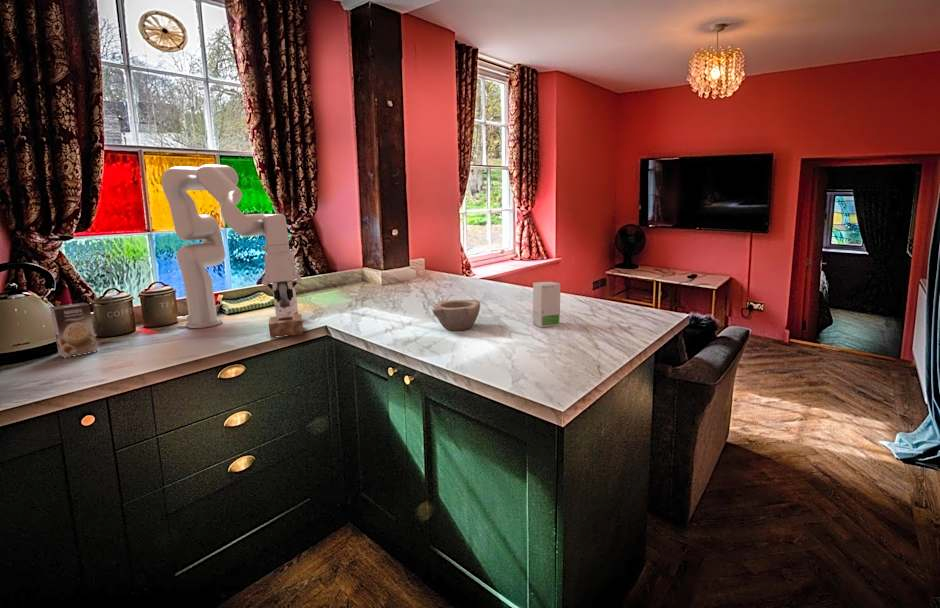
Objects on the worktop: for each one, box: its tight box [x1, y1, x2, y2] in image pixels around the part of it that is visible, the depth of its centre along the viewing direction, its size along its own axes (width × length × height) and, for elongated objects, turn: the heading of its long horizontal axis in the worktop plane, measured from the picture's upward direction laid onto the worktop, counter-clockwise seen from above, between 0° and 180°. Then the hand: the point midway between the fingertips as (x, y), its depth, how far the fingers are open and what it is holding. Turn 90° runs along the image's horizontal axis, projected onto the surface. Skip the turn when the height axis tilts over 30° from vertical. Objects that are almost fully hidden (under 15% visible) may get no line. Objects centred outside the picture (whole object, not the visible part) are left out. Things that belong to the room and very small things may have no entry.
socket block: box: [268, 313, 304, 338], centre depth 180 cm, size 11×11×5 cm
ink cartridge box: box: [272, 285, 299, 317], centre depth 196 cm, size 9×5×15 cm, turn 168°
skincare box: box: [532, 281, 561, 329], centre depth 180 cm, size 8×7×16 cm
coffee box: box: [49, 302, 99, 359], centre depth 159 cm, size 9×6×16 cm
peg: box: [276, 281, 290, 307], centre depth 177 cm, size 4×4×10 cm
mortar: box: [432, 299, 481, 331], centre depth 180 cm, size 17×17×9 cm
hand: (284, 300), depth 178 cm, fingers closed on peg, 3 cm apart
